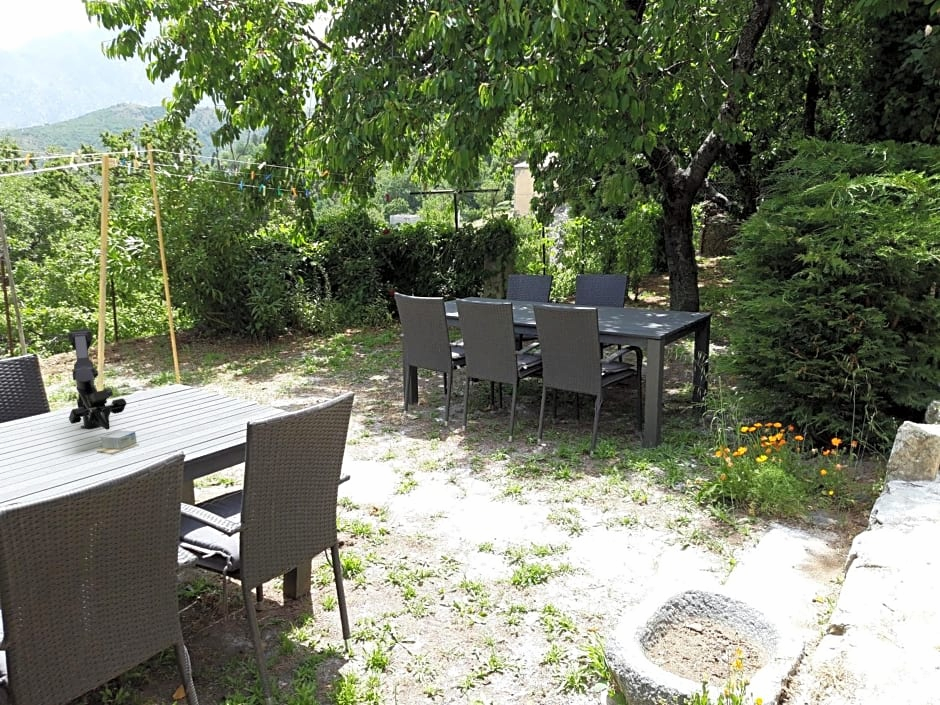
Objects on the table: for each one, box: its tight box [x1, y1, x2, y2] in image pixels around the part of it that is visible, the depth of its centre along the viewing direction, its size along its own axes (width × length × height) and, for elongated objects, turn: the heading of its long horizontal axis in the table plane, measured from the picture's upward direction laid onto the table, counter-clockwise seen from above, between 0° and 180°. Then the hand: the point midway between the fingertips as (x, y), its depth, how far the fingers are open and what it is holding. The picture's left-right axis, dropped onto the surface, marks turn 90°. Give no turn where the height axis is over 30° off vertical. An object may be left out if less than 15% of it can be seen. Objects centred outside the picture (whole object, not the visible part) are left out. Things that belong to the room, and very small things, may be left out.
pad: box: [96, 442, 140, 456], centre depth 250 cm, size 8×11×1 cm
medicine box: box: [100, 429, 137, 449], centre depth 251 cm, size 8×4×9 cm
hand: (108, 428), depth 250 cm, fingers closed
